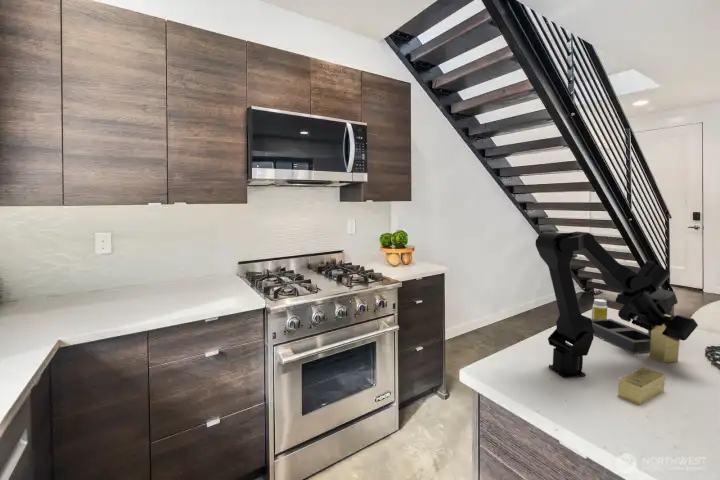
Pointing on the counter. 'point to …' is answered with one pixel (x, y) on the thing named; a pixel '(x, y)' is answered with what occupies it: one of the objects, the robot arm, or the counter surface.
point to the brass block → (663, 345)
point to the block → (641, 385)
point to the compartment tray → (622, 335)
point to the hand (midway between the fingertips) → (669, 336)
